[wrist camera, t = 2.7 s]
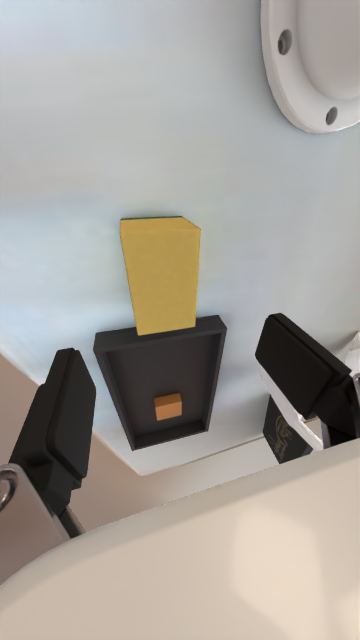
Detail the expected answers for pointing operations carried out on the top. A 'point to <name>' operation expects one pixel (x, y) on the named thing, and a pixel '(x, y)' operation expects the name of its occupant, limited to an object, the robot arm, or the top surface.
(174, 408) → the orange square block
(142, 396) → the black shallow rectangular tray
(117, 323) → the top surface
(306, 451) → the nameplate
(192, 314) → the sponge
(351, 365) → the headset
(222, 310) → the top surface
